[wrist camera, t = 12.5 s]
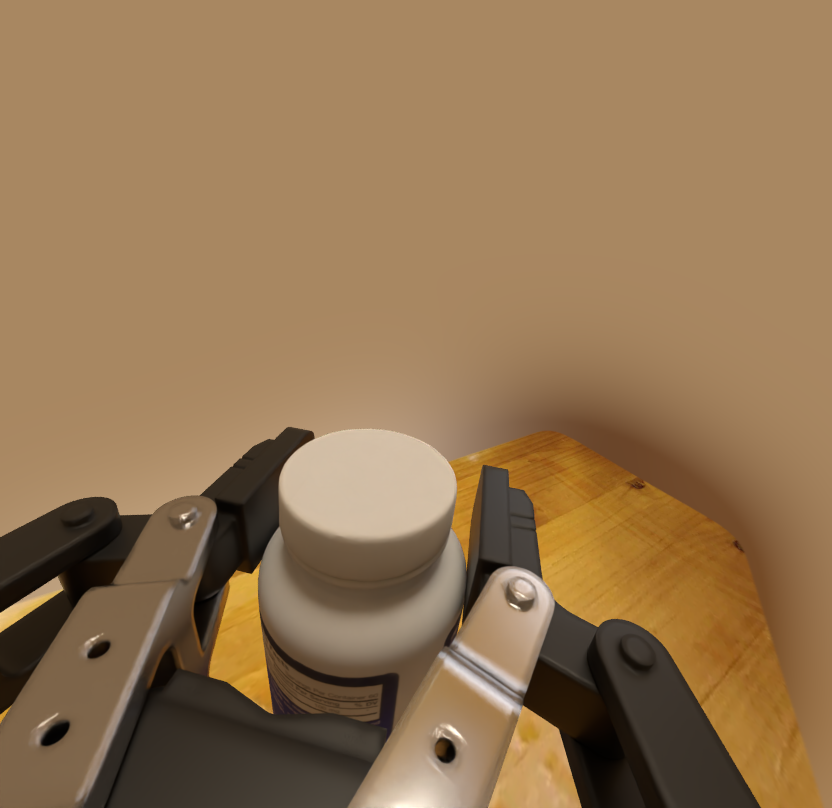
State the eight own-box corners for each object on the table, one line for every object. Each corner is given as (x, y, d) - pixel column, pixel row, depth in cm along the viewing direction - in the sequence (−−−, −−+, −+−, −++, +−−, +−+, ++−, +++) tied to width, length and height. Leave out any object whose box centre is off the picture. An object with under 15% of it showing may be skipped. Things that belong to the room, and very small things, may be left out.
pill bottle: (379, 591, 16) (396, 400, 12) (471, 708, 12) (537, 494, 9) (247, 672, 13) (212, 447, 9) (321, 860, 9) (318, 629, 5)
